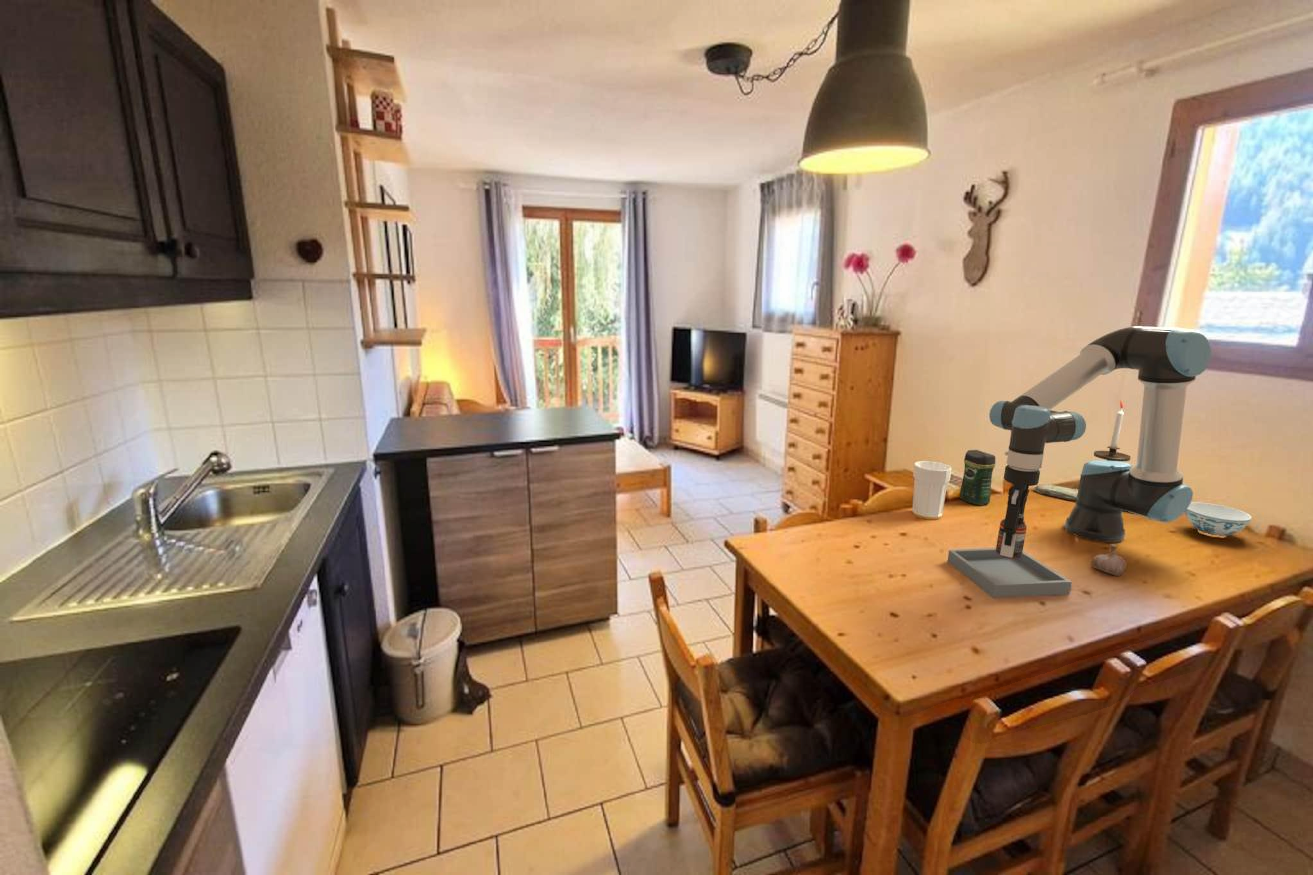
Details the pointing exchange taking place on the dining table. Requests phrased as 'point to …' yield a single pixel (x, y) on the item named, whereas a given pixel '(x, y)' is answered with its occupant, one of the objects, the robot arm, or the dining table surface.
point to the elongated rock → (1057, 492)
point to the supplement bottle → (1019, 538)
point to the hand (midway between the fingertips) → (1008, 551)
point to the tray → (1008, 574)
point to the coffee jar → (977, 477)
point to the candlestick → (1114, 442)
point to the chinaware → (1216, 518)
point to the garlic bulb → (1109, 562)
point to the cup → (930, 489)
